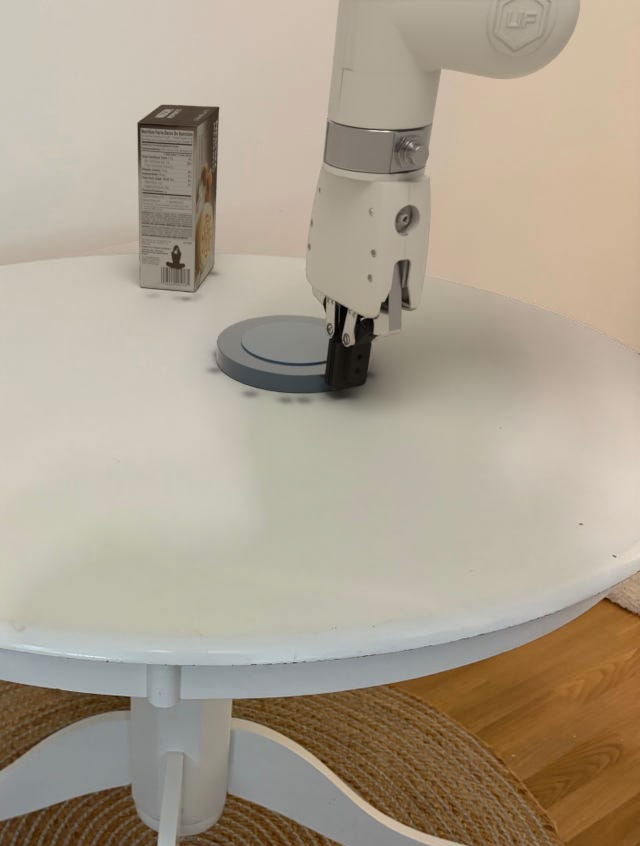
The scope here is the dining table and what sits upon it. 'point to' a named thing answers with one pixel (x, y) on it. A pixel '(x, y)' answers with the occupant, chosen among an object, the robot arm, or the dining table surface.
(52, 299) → the dining table surface
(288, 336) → the plate
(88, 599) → the dining table surface
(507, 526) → the dining table surface
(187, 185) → the coffee box
